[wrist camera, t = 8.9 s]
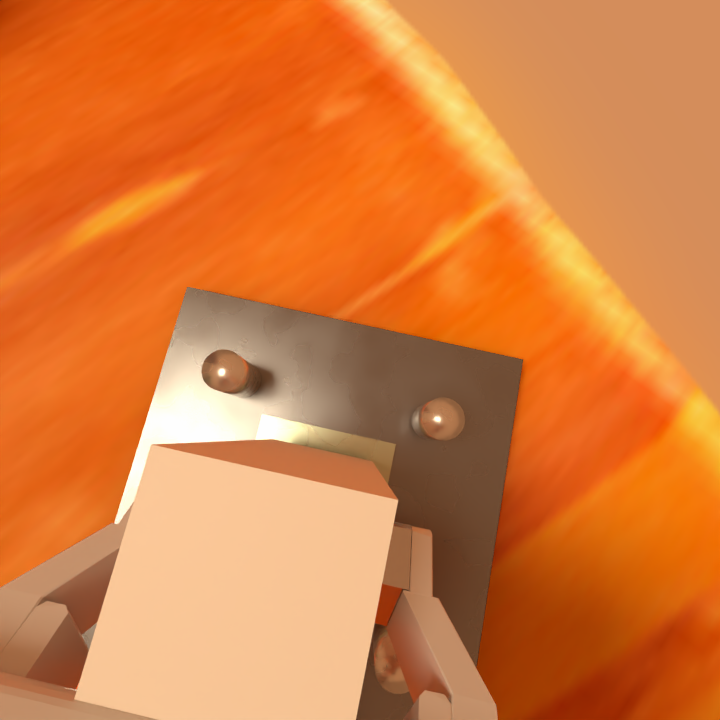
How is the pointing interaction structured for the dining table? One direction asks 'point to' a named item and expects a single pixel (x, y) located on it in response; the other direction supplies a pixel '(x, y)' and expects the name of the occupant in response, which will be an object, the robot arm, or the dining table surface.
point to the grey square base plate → (354, 434)
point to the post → (243, 585)
